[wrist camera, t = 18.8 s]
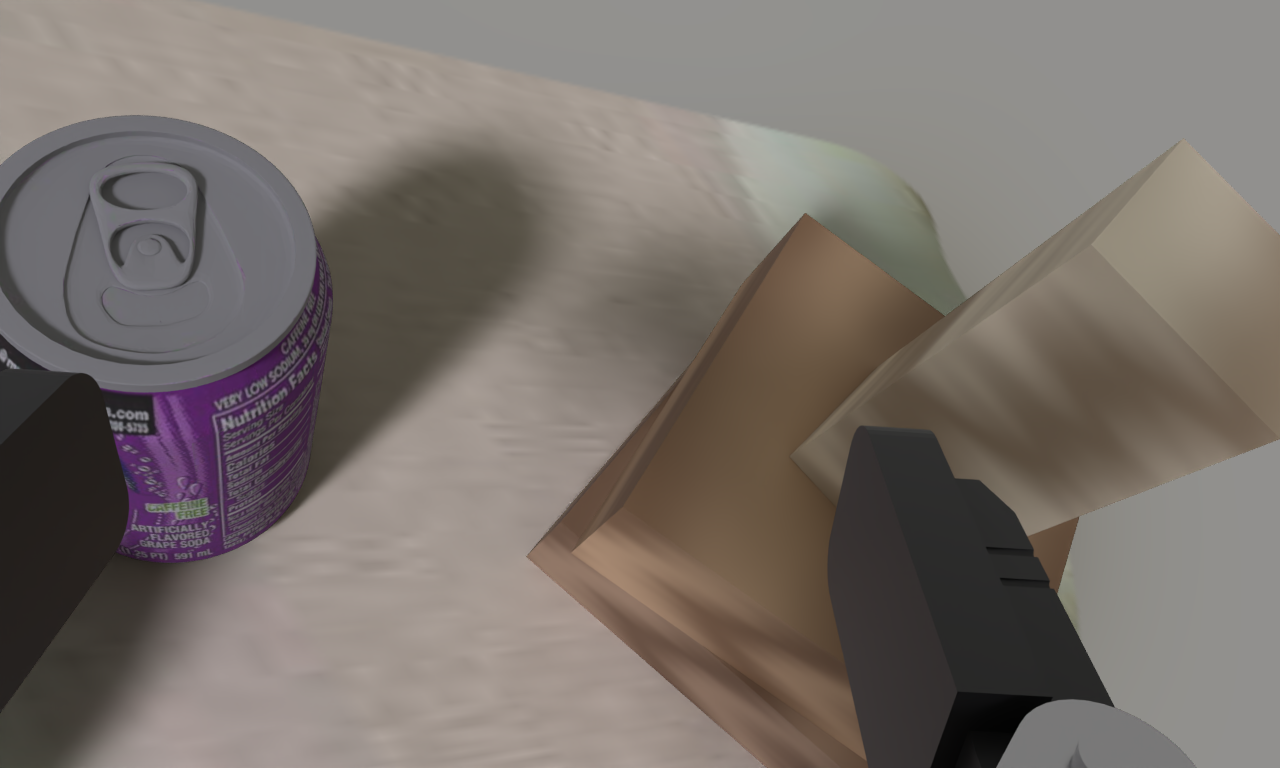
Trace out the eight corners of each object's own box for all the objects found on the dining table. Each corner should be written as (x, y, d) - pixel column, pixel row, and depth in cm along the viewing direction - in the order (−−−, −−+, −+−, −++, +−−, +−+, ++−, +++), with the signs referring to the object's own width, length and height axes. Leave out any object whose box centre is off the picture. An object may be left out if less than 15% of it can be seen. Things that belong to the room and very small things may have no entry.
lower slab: (522, 560, 32) (560, 521, 28) (711, 339, 38) (762, 283, 34) (795, 799, 32) (870, 793, 28) (938, 537, 38) (1014, 504, 34)
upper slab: (570, 552, 27) (622, 507, 24) (742, 283, 34) (805, 212, 30) (901, 785, 28) (1004, 777, 24) (1009, 478, 35) (1103, 433, 31)
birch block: (789, 456, 26) (1091, 245, 17) (877, 366, 28) (1183, 137, 19) (905, 583, 26) (1279, 439, 16) (984, 481, 28) (1349, 305, 19)
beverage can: (41, 359, 28) (-73, 91, 18) (292, 338, 31) (313, 98, 21) (56, 591, 26) (-65, 432, 16) (325, 545, 29) (367, 386, 19)
